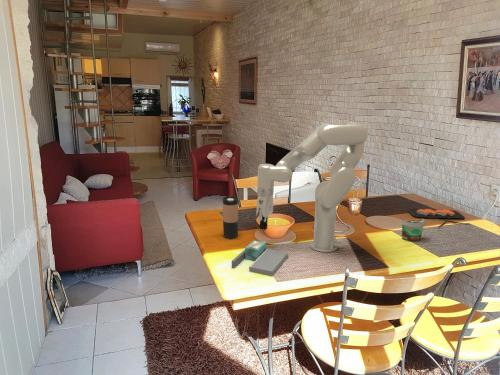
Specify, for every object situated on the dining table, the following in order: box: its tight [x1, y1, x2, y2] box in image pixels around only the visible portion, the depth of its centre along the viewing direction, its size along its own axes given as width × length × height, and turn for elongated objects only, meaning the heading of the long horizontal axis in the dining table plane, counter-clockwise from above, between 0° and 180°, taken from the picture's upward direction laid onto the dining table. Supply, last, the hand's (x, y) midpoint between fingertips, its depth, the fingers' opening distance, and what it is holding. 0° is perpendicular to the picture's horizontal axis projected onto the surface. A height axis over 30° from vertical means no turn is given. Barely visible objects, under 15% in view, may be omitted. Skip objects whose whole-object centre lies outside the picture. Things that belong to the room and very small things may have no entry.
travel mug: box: [222, 195, 239, 240], centre depth 190 cm, size 8×8×20 cm
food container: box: [400, 218, 426, 243], centre depth 187 cm, size 12×6×10 cm, turn 105°
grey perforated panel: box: [231, 248, 289, 277], centre depth 163 cm, size 18×20×3 cm
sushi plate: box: [407, 208, 470, 229], centre depth 218 cm, size 29×30×4 cm
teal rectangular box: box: [244, 239, 267, 261], centre depth 169 cm, size 6×10×5 cm, turn 156°
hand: (263, 228), depth 177 cm, fingers closed
